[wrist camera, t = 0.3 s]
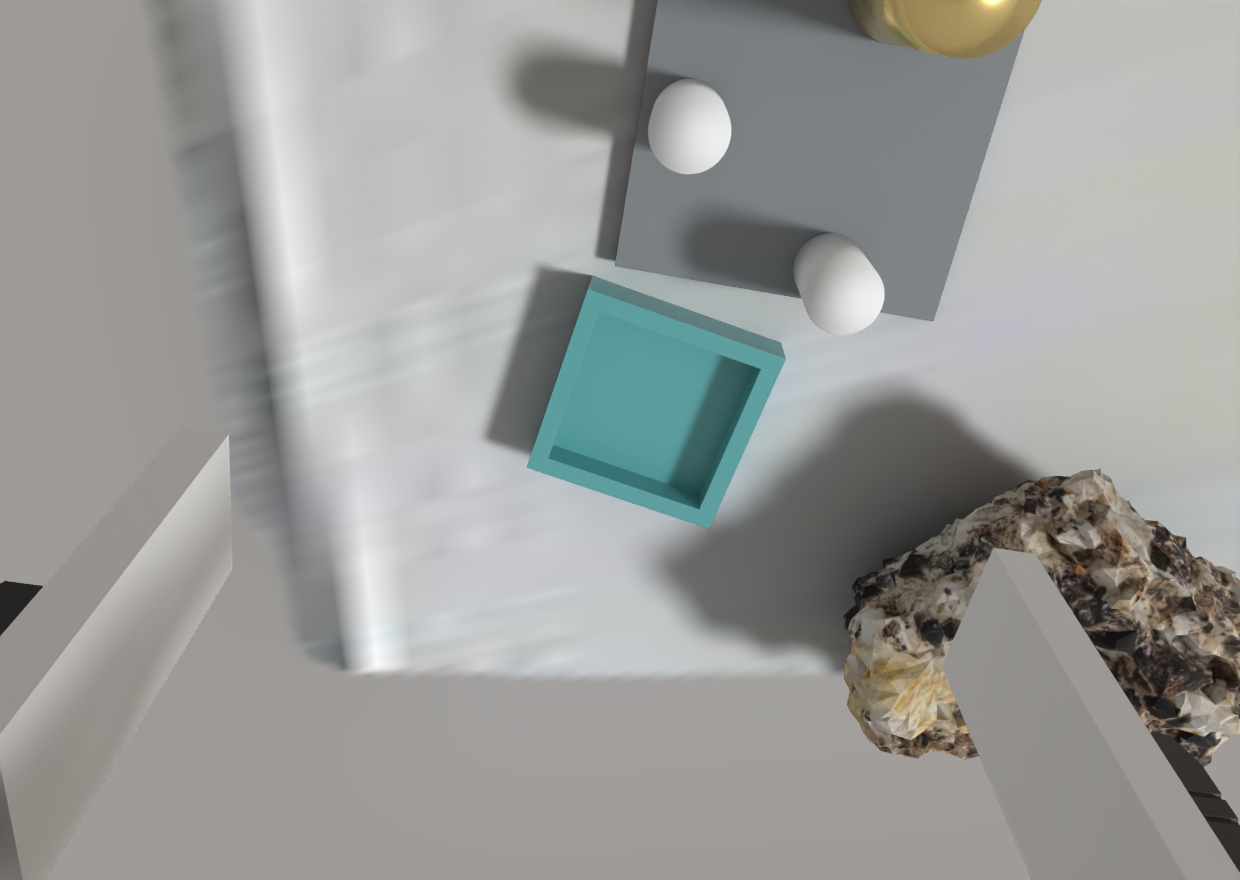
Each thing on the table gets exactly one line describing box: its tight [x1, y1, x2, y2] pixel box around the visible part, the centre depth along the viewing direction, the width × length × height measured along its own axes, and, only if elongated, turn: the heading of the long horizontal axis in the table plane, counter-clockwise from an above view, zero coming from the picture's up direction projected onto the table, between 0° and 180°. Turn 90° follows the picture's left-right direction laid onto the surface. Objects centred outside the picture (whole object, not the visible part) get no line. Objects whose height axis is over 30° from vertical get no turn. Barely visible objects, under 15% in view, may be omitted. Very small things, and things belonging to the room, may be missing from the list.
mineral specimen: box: [843, 469, 1240, 767], centre depth 43 cm, size 16×18×10 cm
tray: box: [527, 276, 786, 529], centre depth 44 cm, size 9×9×2 cm
